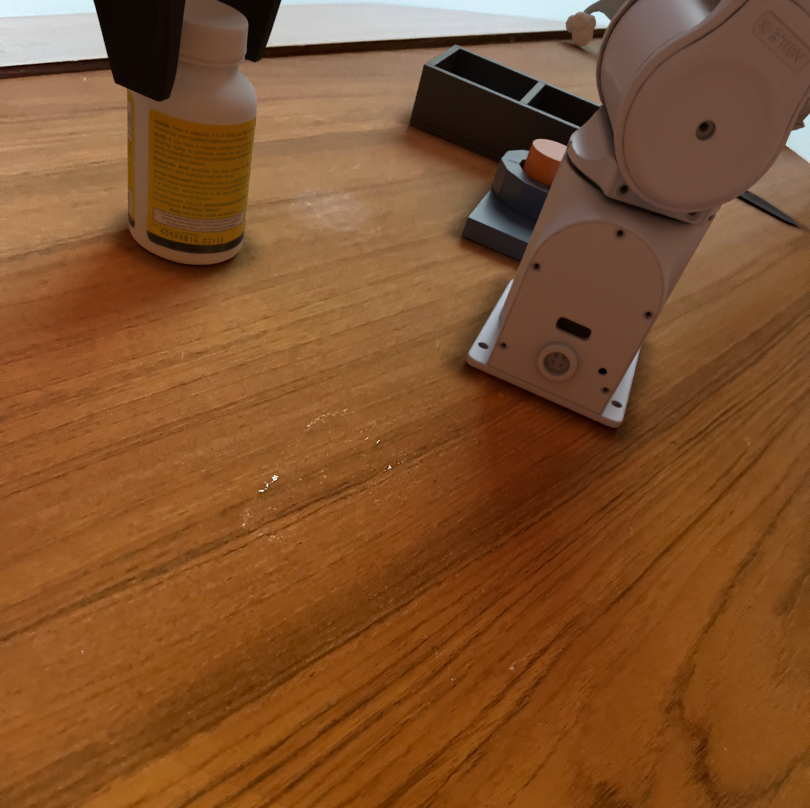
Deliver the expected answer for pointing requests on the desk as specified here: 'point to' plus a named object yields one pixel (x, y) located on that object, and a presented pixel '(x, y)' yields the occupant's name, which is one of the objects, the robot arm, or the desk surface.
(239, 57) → the supplement bottle
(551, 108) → the rack
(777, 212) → the knife
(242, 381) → the desk surface
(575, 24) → the toy figure
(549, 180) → the button
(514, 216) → the block
